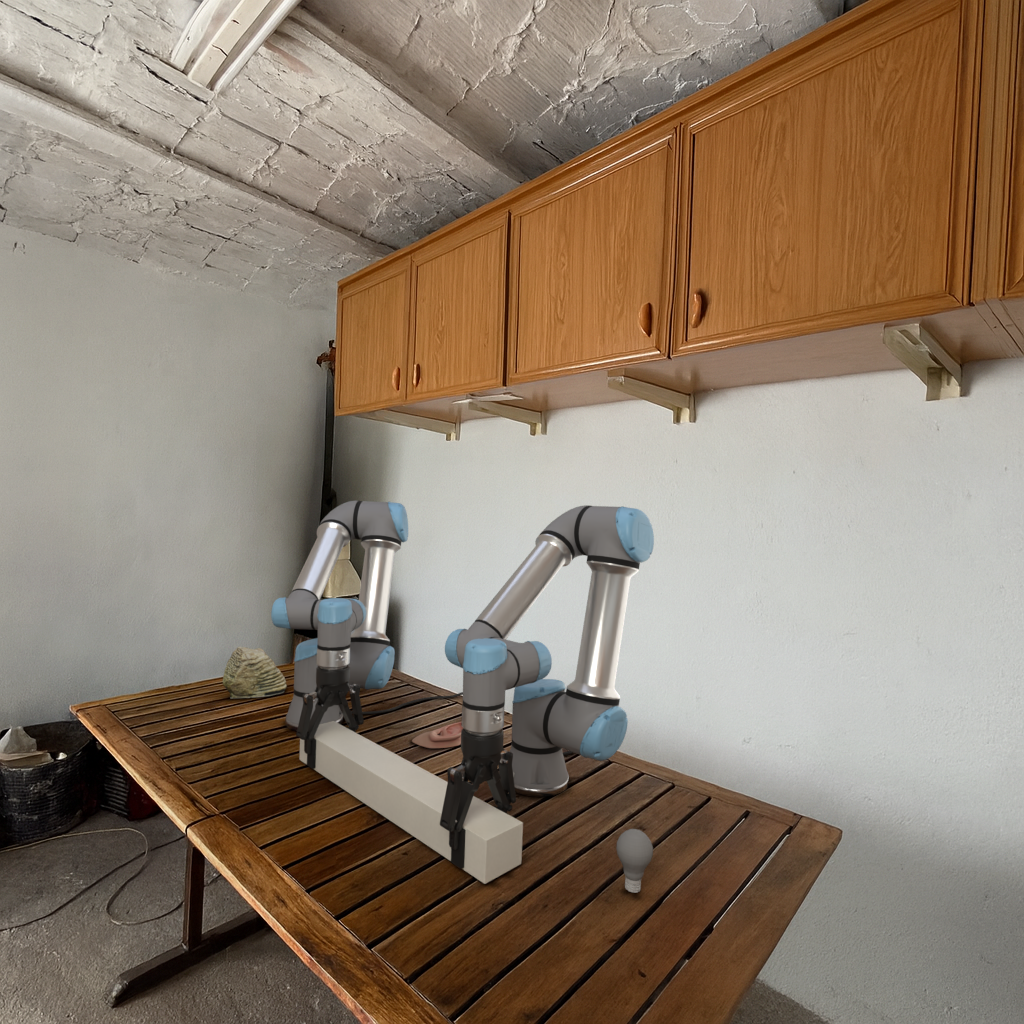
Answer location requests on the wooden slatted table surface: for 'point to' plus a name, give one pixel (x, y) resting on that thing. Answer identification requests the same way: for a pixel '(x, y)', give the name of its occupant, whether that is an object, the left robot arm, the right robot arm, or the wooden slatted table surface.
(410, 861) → the wooden slatted table surface
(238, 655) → the fossil
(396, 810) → the long square beam
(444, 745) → the anatomical model
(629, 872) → the light bulb
